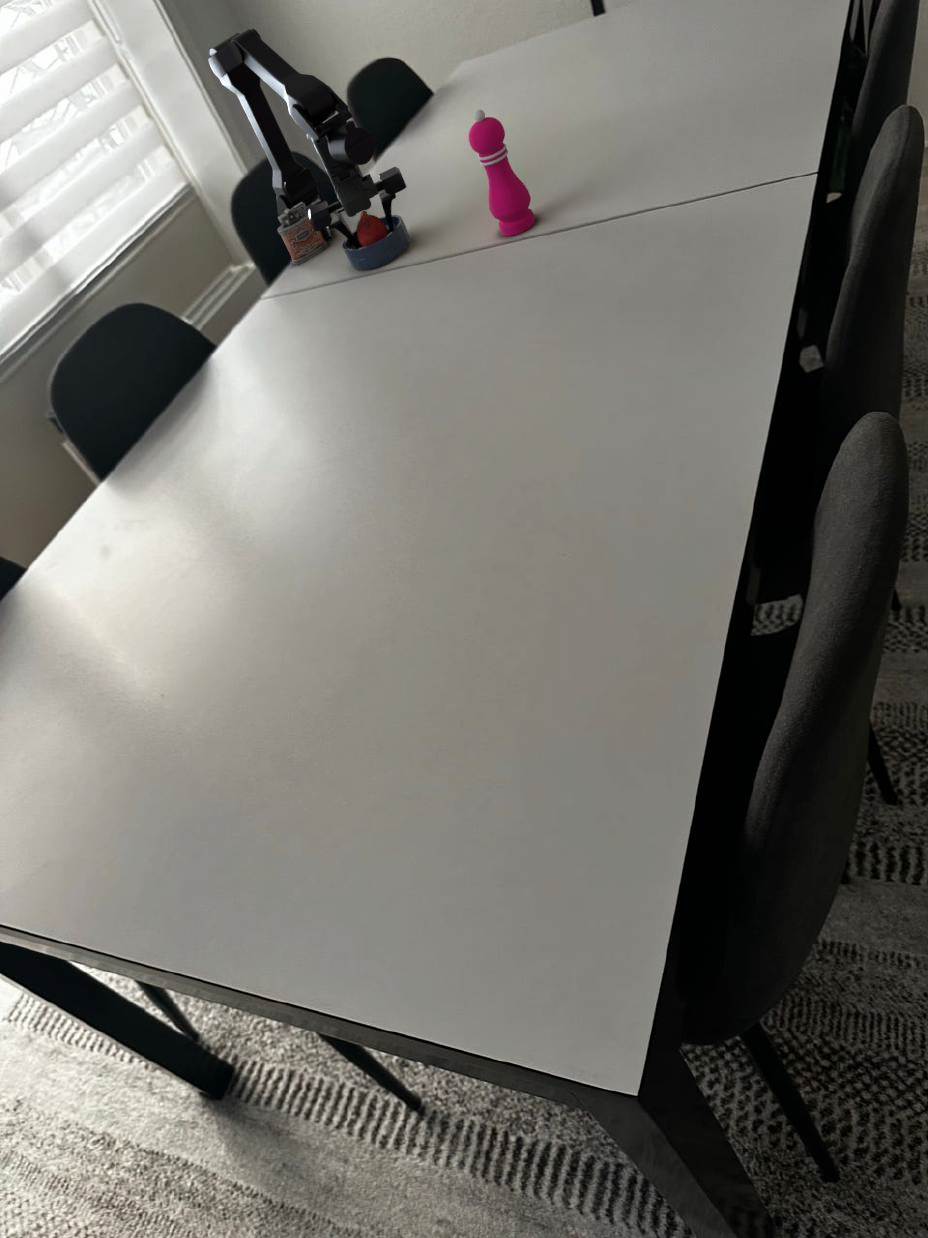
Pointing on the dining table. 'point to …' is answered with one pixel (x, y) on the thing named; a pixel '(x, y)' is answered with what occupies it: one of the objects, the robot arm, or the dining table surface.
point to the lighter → (300, 234)
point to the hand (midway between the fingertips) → (376, 241)
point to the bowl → (379, 247)
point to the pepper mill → (501, 176)
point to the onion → (370, 229)
